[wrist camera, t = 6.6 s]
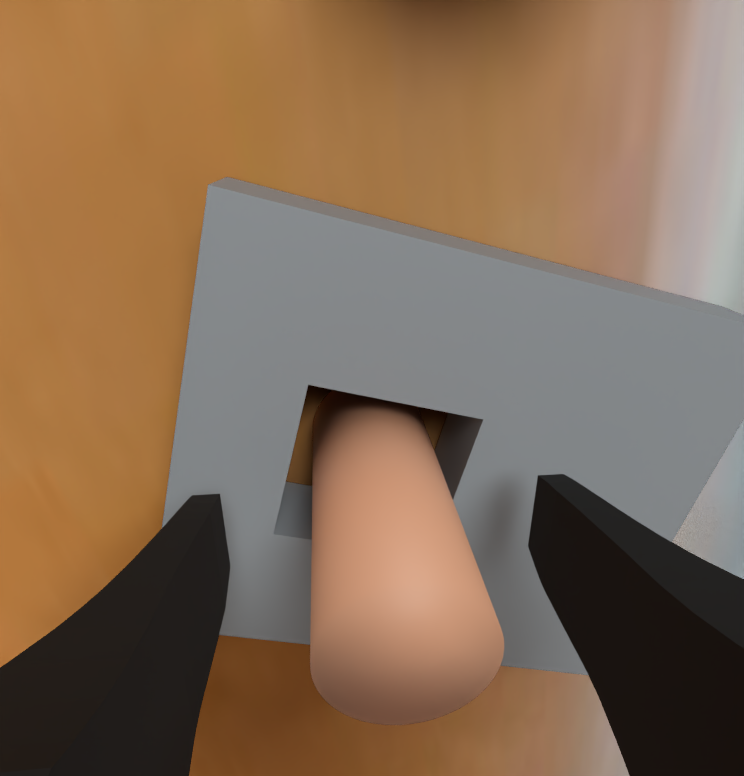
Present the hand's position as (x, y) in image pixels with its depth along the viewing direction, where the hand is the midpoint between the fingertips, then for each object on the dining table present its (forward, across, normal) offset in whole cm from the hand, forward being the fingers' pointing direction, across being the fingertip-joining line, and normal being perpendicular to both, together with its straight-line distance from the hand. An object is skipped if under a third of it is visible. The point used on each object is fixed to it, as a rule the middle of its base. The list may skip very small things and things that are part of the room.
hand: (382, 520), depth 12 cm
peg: (+4, 0, 0) cm, 4 cm away
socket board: (+4, -2, 0) cm, 5 cm away
